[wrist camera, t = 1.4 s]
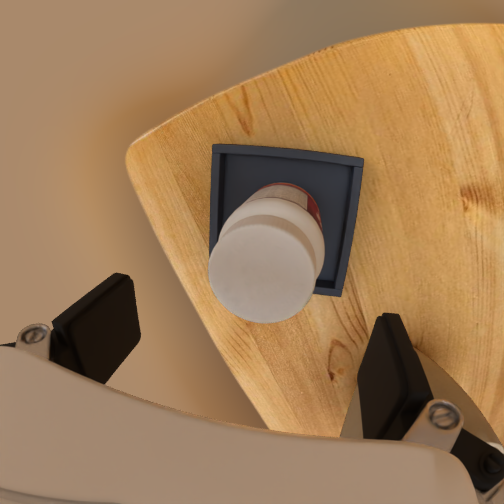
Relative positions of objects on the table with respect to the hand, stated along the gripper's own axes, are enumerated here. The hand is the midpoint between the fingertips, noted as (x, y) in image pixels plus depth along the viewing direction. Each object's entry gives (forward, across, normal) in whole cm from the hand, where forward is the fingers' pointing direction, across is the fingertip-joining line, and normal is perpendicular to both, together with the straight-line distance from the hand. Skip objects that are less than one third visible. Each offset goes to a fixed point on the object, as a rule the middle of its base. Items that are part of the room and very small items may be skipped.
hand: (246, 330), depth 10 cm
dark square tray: (+15, 0, 0) cm, 15 cm away
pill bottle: (+15, 0, 0) cm, 15 cm away
